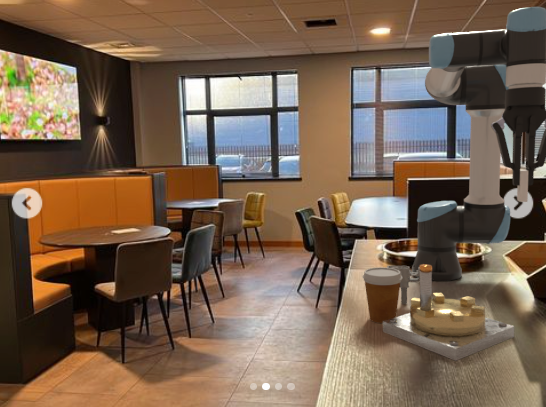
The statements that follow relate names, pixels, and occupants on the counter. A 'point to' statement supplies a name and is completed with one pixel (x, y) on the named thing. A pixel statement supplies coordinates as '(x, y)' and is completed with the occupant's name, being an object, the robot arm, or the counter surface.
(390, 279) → the disposable coffee cup
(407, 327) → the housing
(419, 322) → the brass turntable plate
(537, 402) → the counter surface
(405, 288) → the mechanical component
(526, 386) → the counter surface
